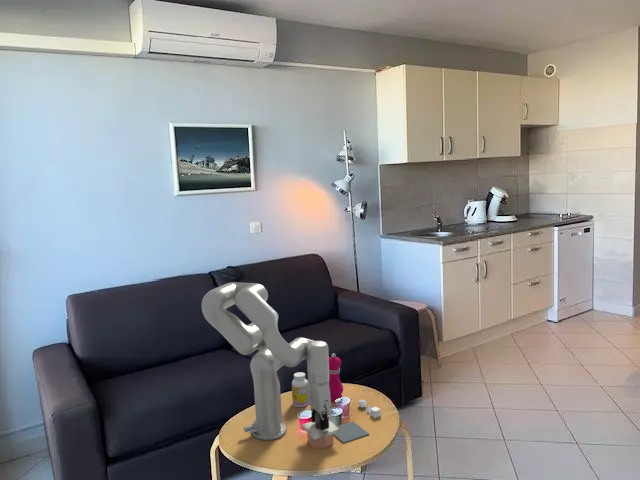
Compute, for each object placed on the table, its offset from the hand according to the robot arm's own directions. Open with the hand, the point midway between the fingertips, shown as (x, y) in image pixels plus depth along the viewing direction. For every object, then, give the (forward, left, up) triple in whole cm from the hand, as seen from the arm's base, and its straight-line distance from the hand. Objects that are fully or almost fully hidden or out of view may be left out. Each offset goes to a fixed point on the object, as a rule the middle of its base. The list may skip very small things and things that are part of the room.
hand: (320, 424), depth 188 cm
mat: (+11, 0, -6) cm, 13 cm away
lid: (0, 0, -2) cm, 2 cm away
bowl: (0, 0, -6) cm, 6 cm away
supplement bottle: (+7, +30, -7) cm, 31 cm away
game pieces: (+27, +10, -7) cm, 29 cm away
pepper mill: (+21, +26, -7) cm, 34 cm away
